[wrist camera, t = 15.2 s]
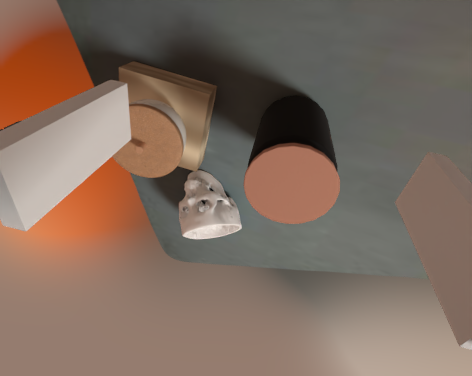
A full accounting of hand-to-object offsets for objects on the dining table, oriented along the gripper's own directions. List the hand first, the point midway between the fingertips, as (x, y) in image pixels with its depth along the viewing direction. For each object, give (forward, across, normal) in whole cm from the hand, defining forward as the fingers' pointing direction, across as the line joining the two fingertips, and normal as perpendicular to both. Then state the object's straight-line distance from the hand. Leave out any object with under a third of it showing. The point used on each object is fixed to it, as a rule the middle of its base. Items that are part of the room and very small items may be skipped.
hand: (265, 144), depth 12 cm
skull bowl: (+33, -7, -31) cm, 46 cm away
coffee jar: (+33, +4, -12) cm, 35 cm away
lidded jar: (+28, -17, -15) cm, 36 cm away
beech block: (+33, -17, -15) cm, 40 cm away
